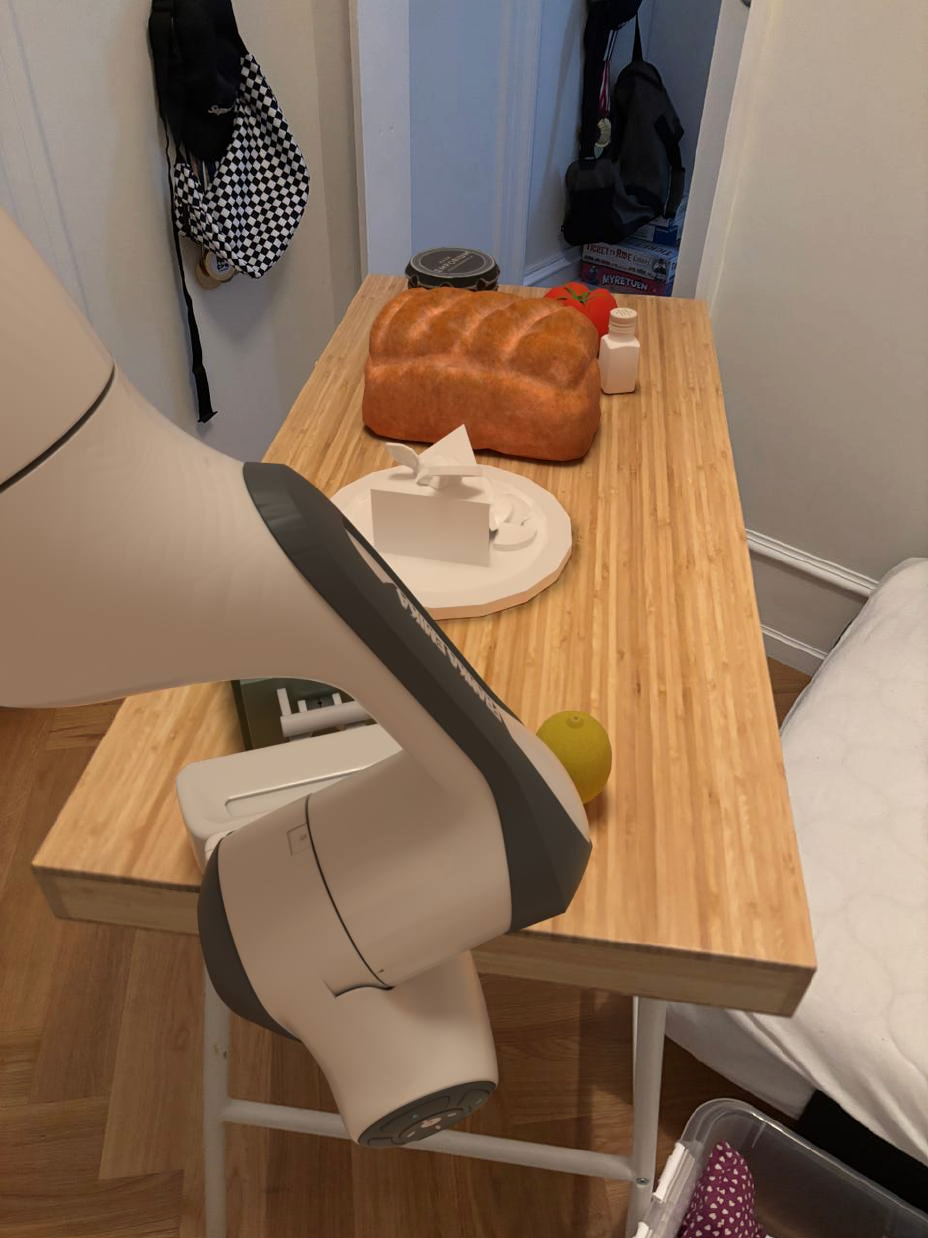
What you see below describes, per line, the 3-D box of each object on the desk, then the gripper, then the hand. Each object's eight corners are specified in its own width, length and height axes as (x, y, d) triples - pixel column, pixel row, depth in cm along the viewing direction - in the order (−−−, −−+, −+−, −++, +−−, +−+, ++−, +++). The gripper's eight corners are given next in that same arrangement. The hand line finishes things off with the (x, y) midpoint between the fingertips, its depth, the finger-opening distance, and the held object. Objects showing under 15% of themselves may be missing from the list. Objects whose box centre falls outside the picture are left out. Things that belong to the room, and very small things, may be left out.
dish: (551, 637, 79) (560, 526, 72) (273, 596, 83) (256, 487, 76) (586, 488, 98) (596, 387, 91) (357, 460, 102) (350, 362, 95)
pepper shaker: (604, 395, 114) (612, 320, 108) (594, 381, 117) (602, 307, 111) (635, 393, 115) (645, 317, 109) (625, 379, 118) (634, 304, 112)
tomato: (519, 343, 126) (521, 287, 122) (576, 323, 132) (581, 269, 127) (575, 369, 120) (580, 312, 115) (633, 347, 125) (640, 292, 121)
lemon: (567, 843, 63) (577, 763, 58) (510, 794, 66) (515, 714, 61) (622, 800, 66) (636, 721, 61) (565, 756, 69) (574, 676, 64)
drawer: (406, 766, 67) (402, 694, 62) (263, 799, 65) (248, 726, 60) (358, 632, 78) (352, 562, 74) (235, 656, 76) (221, 585, 71)
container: (495, 354, 123) (498, 279, 117) (399, 350, 124) (396, 274, 118) (502, 317, 133) (504, 245, 127) (412, 313, 134) (410, 242, 128)
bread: (582, 472, 100) (596, 333, 90) (351, 437, 106) (341, 302, 96) (604, 415, 110) (619, 284, 101) (393, 385, 116) (387, 259, 106)
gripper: (526, 784, 56) (460, 641, 67) (177, 866, 52) (164, 699, 62) (522, 849, 60) (459, 705, 71) (197, 931, 56) (181, 764, 66)
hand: (319, 703), depth 66 cm, fingers closed, pressing on drawer
